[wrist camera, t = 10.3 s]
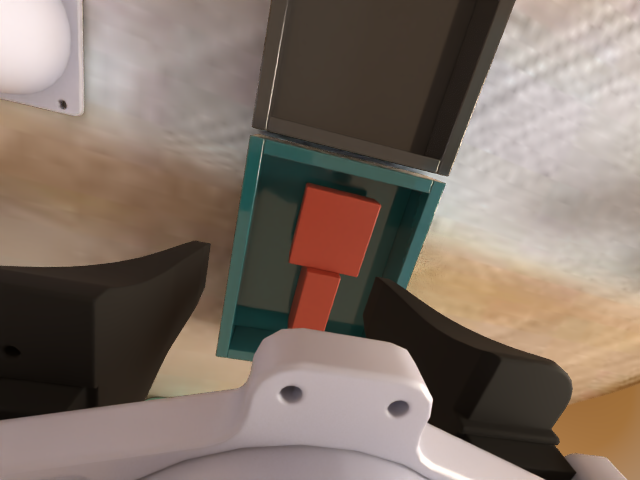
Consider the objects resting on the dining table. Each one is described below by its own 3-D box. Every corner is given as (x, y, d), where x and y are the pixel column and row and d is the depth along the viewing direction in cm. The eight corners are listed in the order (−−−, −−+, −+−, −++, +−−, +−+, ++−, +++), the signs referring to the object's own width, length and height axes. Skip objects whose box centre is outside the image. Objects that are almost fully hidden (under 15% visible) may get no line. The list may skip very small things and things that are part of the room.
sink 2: (259, 126, 19) (251, 127, 16) (313, -202, 15) (316, -295, 11) (426, 169, 21) (449, 176, 18) (526, -114, 16) (581, -173, 13)
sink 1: (226, 326, 25) (215, 356, 21) (258, 133, 20) (250, 134, 16) (363, 348, 26) (372, 379, 23) (424, 175, 21) (446, 183, 18)
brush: (272, 316, 24) (268, 346, 21) (306, 178, 20) (307, 188, 17) (329, 326, 24) (334, 356, 21) (371, 194, 21) (384, 207, 18)
